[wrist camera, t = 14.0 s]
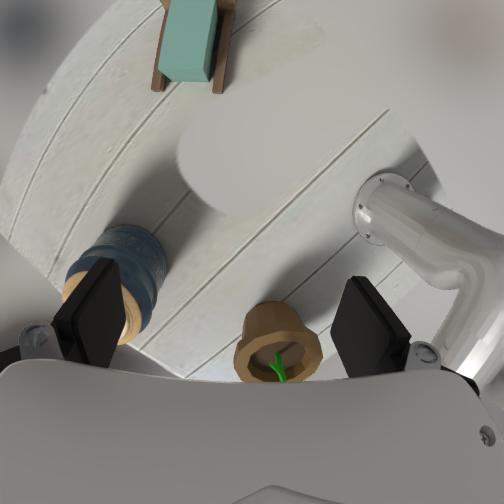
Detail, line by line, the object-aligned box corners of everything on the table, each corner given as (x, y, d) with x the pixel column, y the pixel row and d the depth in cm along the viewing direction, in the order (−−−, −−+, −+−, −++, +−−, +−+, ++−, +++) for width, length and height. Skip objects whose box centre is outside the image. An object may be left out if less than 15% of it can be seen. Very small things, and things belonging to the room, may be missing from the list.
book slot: (235, 11, 27) (236, -13, 20) (222, 93, 33) (220, 84, 26) (170, 10, 26) (158, -13, 19) (155, 91, 32) (138, 83, 25)
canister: (176, 235, 41) (147, 303, 25) (161, 301, 46) (138, 378, 30) (100, 213, 39) (40, 265, 23) (94, 280, 43) (51, 347, 28)
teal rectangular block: (218, 22, 28) (215, -4, 20) (208, 82, 32) (202, 69, 24) (183, 21, 27) (172, -4, 19) (173, 81, 32) (157, 69, 23)
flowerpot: (216, 316, 48) (214, 479, 21) (286, 276, 46) (343, 442, 19) (258, 359, 54) (277, 496, 27) (320, 327, 52) (373, 464, 25)
